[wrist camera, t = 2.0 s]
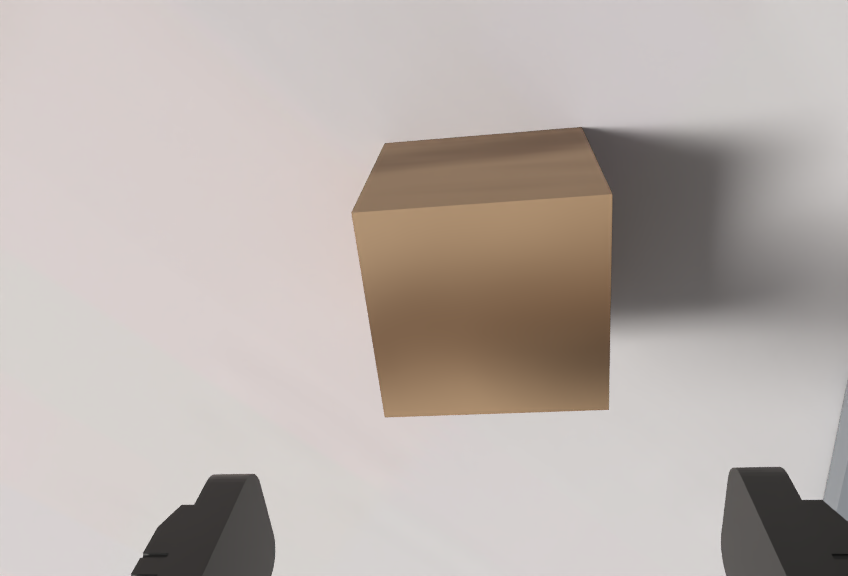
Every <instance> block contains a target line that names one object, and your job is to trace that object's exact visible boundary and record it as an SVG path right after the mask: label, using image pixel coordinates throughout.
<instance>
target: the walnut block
mask: <svg viewBox="0 0 848 576" xmlns="http://www.w3.org/2000/svg"><path fill="white" fill-rule="evenodd" d="M352 219H353V225H354V231H355V237H356V244H357V250H358V256H359V262H360V268H361V274H362V280H363V286H364V293H365V299H366V305H367V311H368V317H369V323H370V329H371V336H372V342H373V348H374V354H375V360H376V366H377V372H378V378H379V385H380V391H381V397H382V403H383V409H384V415H385V417H409V416H439V415H468V414H497V413H526V412H556V411H585V410H609V366H610V308H611V249H612V192H611V190H610V188H609V186H608V183H607V181H606V179H605V177H604V175H603V173H602V170H601V168H600V166H599V164H598V162H597V160H596V157H595V155H594V153H593V151H592V149H591V146H590V144H589V142H588V140H587V138H586V136H585V133H584V131H583V129H582V127H577V128H564V129H552V130H540V131H528V132H516V133H504V134H492V135H480V136H468V137H455V138H443V139H431V140H419V141H407V142H395V143H385V144H384V146H383V148H382V150H381V152H380V154H379V156H378V158H377V161H376V163H375V165H374V167H373V169H372V171H371V173H370V175H369V177H368V179H367V181H366V183H365V186H364V188H363V190H362V192H361V194H360V196H359V198H358V200H357V202H356V204H355V206H354V208H353V211H352Z"/></svg>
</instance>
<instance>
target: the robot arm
mask: <svg viewBox="0 0 848 576" xmlns="http://www.w3.org/2000/svg"><path fill="white" fill-rule="evenodd" d="M721 550H722V559H723V564H724V569H725V572H726V576H848V521H847V520H845V519H844V518H843V517H842V516H841V515H840V514H838V513H837V512H836V511H835V510H834V509H832V508H831V507H830V506H829V505H828V504H827V503H825V502H824V501H823V500H801V498H800V496H799V494H798V492H797V490H796V489H795V487H794V485H793V483H792V481H791V479H790V478H789V476H788V474H787V472H786V471H785V470H784V469H783V468H781V467H745V468H732V469H731V470H730V472H729V476H728V483H727V491H726V500H725V508H724V516H723V525H722V533H721ZM274 560H275V539H274V534H273V530H272V527H271V523H270V519H269V515H268V511H267V508H266V504H265V500H264V496H263V492H262V489H261V485H260V482H259V479H258V477H257V476H256V475H255V474H218V475H212V476H211V477H210V478H209V479H208V480H207V482H206V484H205V486H204V487H203V489H202V491H201V493H200V495H199V497H198V499H197V501H196V503H195V504H194V505H181V506H180V507H179V508H178V509H177V510H176V511H175V512H174V513H172V514H171V515H170V516H169V517H168V518H167V519H166V520H165V521H164V522H163V523H162V524H161V525H160V526H159V527H158V528H157V529H156V531H155V533H154V535H153V536H152V538H151V540H150V542H149V544H148V545H147V547H146V549H145V551H144V552H143V558H140V559H139V561H138V563H137V565H136V566H135V568H134V570H133V572H132V573H131V576H271V575H272V571H273V567H274Z"/></svg>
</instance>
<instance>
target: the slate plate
mask: <svg viewBox="0 0 848 576" xmlns="http://www.w3.org/2000/svg"><path fill="white" fill-rule="evenodd" d="M823 501H824V502H825V503H827V504H828V505H829V506H830V507H831V508H832V509H834V510H835V511H836V512H837V513H838V514H840V515H841V516H842V517H843V518H844V519H845V520H847V521H848V382H847V387H846V392H845V397H844V402H843V406H842V411H841V416H840V421H839V426H838V431H837V436H836V440H835V445H834V450H833V455H832V460H831V465H830V470H829V475H828V479H827V484H826V489H825V494H824V499H823Z"/></svg>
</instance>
